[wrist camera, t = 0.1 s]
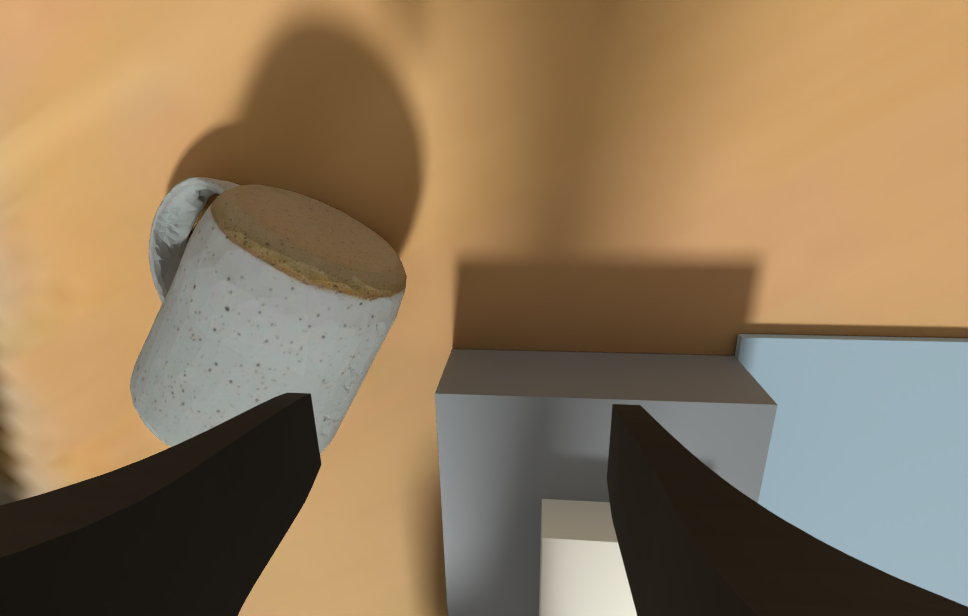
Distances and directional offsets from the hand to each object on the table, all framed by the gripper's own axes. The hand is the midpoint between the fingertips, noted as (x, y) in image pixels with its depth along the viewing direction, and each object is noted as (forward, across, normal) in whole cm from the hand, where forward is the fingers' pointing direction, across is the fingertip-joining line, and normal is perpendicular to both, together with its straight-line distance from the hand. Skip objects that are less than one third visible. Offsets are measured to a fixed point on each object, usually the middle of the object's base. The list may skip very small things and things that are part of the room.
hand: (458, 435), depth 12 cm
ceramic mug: (+10, +9, -1) cm, 14 cm away
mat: (+10, -17, +11) cm, 23 cm away
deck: (+10, -4, +11) cm, 16 cm away
